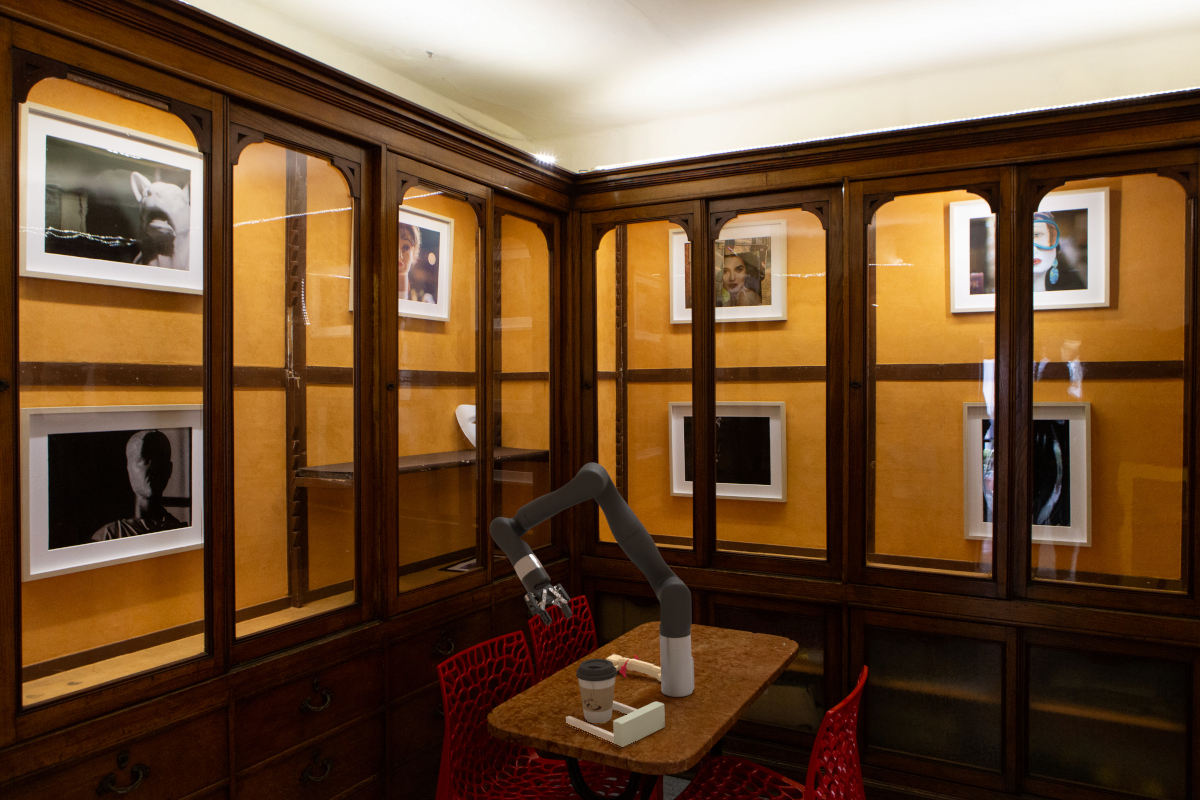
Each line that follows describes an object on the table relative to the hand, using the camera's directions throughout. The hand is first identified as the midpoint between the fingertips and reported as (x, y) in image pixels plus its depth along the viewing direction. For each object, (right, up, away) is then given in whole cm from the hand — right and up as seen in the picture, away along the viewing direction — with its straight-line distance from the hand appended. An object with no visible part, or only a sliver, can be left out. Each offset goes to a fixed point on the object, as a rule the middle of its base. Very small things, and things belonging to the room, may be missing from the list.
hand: (560, 620), depth 216 cm
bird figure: (+23, -25, +23) cm, 41 cm away
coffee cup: (+11, -25, -9) cm, 28 cm away
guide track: (+15, -24, -13) cm, 32 cm away
